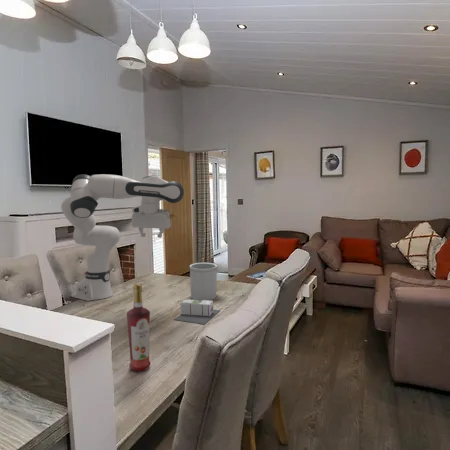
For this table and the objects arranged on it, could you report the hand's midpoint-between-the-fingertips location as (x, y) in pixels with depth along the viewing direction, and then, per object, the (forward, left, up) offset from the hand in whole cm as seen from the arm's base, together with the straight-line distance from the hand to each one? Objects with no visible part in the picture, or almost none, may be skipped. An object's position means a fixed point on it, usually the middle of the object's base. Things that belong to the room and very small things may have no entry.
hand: (151, 237), depth 172 cm
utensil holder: (+17, +23, -35) cm, 45 cm away
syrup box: (+18, -3, -32) cm, 36 cm away
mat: (+26, -3, -35) cm, 44 cm away
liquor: (+29, -53, -35) cm, 70 cm away
